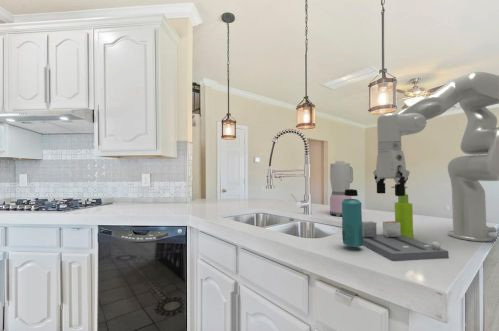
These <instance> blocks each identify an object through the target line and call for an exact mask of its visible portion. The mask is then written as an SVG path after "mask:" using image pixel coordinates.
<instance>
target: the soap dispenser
mask: <svg viewBox="0 0 499 331" xmlns="http://www.w3.org/2000/svg"><path fill="white" fill-rule="evenodd" d="M390 188H392V189H395V185H394V186H391V187H390ZM405 189H408V186H407V185H405ZM397 200H398V202H394V221H398V222H400V233H401V235H404V236H407V237H410V238H413V239H414V218H413V212H414V211H413V203H411V202H409V195H408V194H407V192H406V190H405V196H397Z"/></svg>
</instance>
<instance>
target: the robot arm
mask: <svg viewBox="0 0 499 331" xmlns="http://www.w3.org/2000/svg"><path fill="white" fill-rule="evenodd" d="M458 103H459V106H460V107H461V108H462V110H463V111H464V114H465V115H466V118H467V124H466V127H465V129H464V133H463V136H462V137H461V138H462V139H461V142H460V150H461V151H462V152H463V153H464V154H465V155H463V156H462V155H461V156H457V157H454V158H452V159H451V160H450V161H449V162H448V164H447V171H448V176H449V178H450V185H451V202H452V203H451V204H452V210H451V211H452V230H449V231H448V232H447V234H448V236H450V237H452V238H456V239H460V240H465V241H470V242H486V243H487V242H488V243H489V242H492V241H493V240H494V239H493V238H494V237H493V236H492V235H489V234H490V233H496V232H497V231H498V230H497V228H496V227H494V226H492V227H491V226H490V227H489V226H487V208H486V207H487V206H486V204H487V202H486V192H485V189H484V187H483V185H482V184H481V183H480V182H482V181H483V182H497V181H499V126H497V125H498V119H497V116H496V115H495V114H494V113H493V112H492V111H491V110H489V108H487V107H489V106H490V107H491V106H494V105H497V104H499V75H497V74H495V73H489V72H484V71H474V72H471V73H467V74H466V75H463V76H461V77H460V76H459V77H457V78H454V79H453V80H449V81H448V82H447V83H444V84H443V85H442V86H440V87H439V88H438V89H436V90H434V92H432V93H430V94H429V95H428V96H426V97H424V98H423V99H420V100H419V101H417V102H415V103H414V104H412V105H410V106H408V107H407V108H404V109H403V110H401V111H399V112H398V113H395V112H393V113H384V114H381V115H379V116H378V117H377V125H376V126H377V127H376V128H377V129H376V130H377V132H376V133H377V156H376V166H375V167H376V168H375V169H374V171H373V172H372V173H373V177H374V180H375V184H376V194H386V183H385V181H386V180H387V179H389V180H391V179H392V180H394V182H395V184H394V186H395V188H394V195H395V197H398V196H405V191H406V188H405V186H406V184H407V181H408V180H409V176H410V174H411V173H410V170H407V168H406V165H407V164H406V158H405V154H404V151H403V150H402V136H409V135H413V134H418V133H420V132H422V131H423V130H424V129H425V128H426V126H427V121H428V120H431V119H434V118H436V117H438V116H441V115H442V114H444V113H446V112H447V111H448V110H449V109H451V108H452V107H454V106H456V105H457V104H458Z"/></svg>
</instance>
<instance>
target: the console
mask: <svg viewBox="0 0 499 331" xmlns="http://www.w3.org/2000/svg"><path fill="white" fill-rule="evenodd" d="M362 246H364V247H366V248H368V249H370V250H372V251H373V252H375V253H378V254H379V255H381V256H382V257H384V258H387V259H388V260H390V261H391V262H397V261H412V260H413V261H414V260H434V259H447V258H448V259H449V251H448V250H447V249H443V248H441V242H438V241H431V244H429V243H427V242H424V241H421V240H418V239H415V238H414V237H413V238H410V237H407V236H404V235H401V237H386V236H383V233H380V234H377V237H363V244H362Z"/></svg>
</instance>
